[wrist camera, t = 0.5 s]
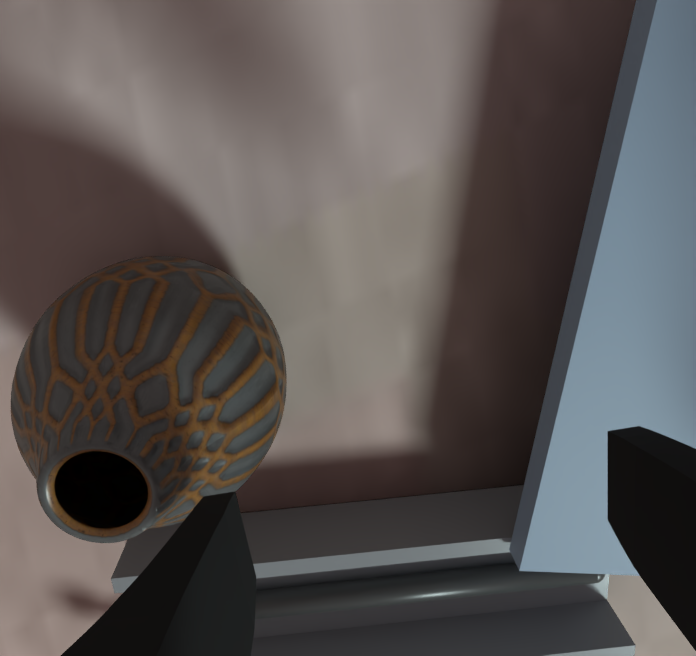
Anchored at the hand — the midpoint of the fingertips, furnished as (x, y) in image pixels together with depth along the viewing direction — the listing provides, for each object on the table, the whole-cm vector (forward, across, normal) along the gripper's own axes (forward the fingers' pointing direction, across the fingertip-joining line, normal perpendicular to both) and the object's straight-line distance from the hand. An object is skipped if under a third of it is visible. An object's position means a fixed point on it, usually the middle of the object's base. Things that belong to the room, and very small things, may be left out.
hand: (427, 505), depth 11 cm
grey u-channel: (+9, +1, +9) cm, 13 cm away
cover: (+6, -9, -1) cm, 11 cm away
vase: (+10, +6, -1) cm, 12 cm away
